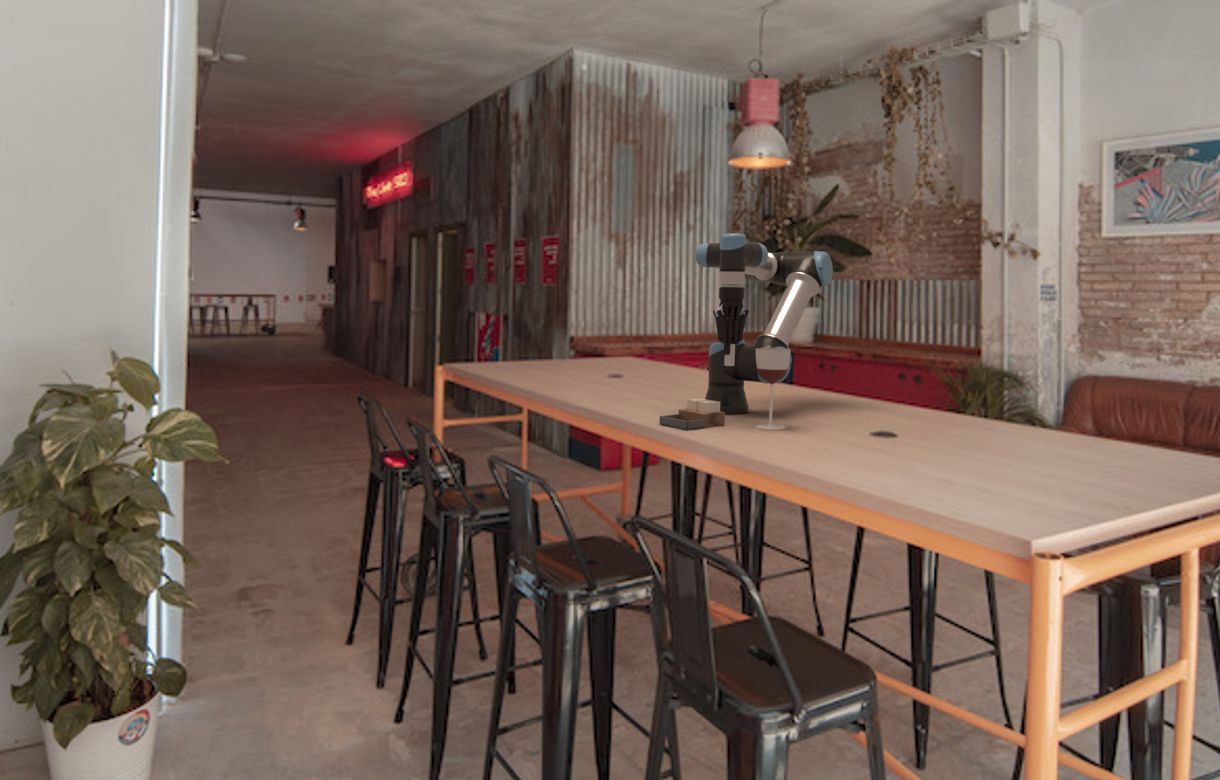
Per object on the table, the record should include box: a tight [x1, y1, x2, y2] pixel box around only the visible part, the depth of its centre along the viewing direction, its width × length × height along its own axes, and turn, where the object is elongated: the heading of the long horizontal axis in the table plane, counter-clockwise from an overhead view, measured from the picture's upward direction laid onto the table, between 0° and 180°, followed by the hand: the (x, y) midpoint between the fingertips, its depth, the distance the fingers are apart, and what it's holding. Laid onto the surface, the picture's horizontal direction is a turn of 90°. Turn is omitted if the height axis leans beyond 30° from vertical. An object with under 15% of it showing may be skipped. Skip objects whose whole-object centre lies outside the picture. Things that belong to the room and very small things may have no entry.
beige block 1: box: [686, 398, 709, 411], centre depth 254 cm, size 5×4×3 cm
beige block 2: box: [698, 400, 720, 413], centre depth 250 cm, size 5×4×3 cm
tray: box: [659, 413, 706, 431], centre depth 248 cm, size 7×12×3 cm, turn 37°
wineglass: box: [755, 348, 792, 430], centre depth 247 cm, size 9×10×23 cm
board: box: [678, 408, 726, 429], centre depth 252 cm, size 8×11×4 cm
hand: (729, 365), depth 253 cm, fingers closed
